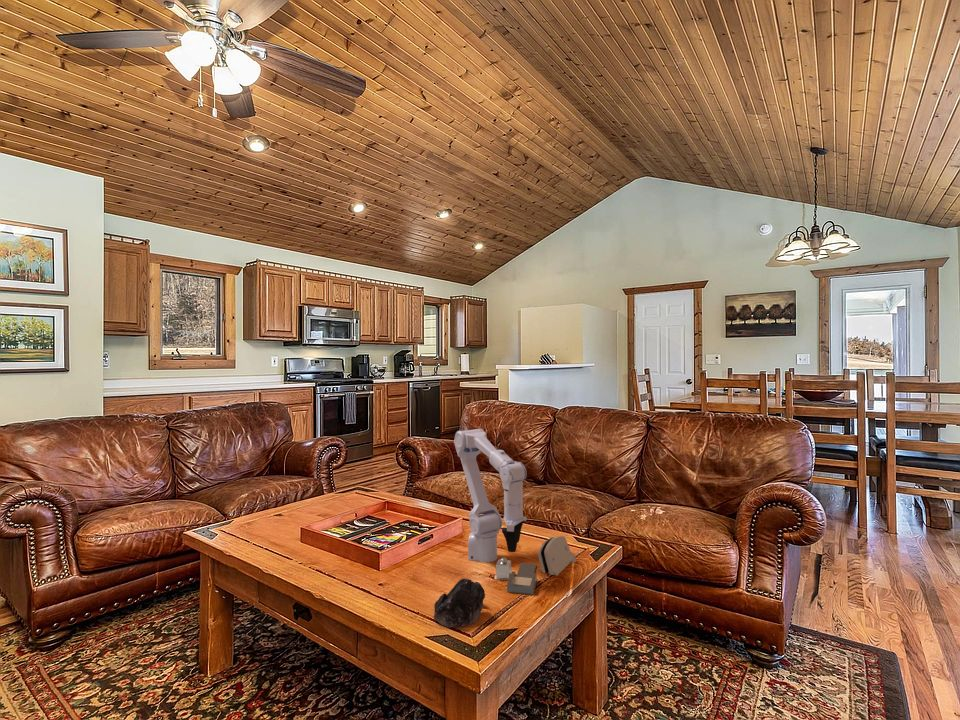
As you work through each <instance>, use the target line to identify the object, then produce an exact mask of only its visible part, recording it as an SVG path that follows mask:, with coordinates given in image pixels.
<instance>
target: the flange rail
mask: <svg viewBox="0 0 960 720" xmlns="http://www.w3.org/2000/svg"><path fill="white" fill-rule="evenodd" d="M536 570H537V564H535V563H525V562H520V565H519V568H518V570H517V573H516V571H512V570H511V576H510V578H509V580H507V581H508V582H507V585H506V593H511V594H519V595H520V594H521V595H532V596H534V594H535V589H536V585H537V581H538V574H537V573H535V572H536Z"/></svg>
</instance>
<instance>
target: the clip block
mask: <svg viewBox="0 0 960 720" xmlns="http://www.w3.org/2000/svg"><path fill="white" fill-rule="evenodd" d="M511 573H512V560H509V559H507V557H501V558H500V559H498V560H497V562H496V564H495V576H496V578H501V579H500V580H502V579H509V578H510V575H511Z"/></svg>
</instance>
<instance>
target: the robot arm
mask: <svg viewBox="0 0 960 720" xmlns="http://www.w3.org/2000/svg"><path fill="white" fill-rule="evenodd" d="M453 444H454V446H455V451H456V453H457V457H458V458H459V459H460V461H461V465H462V469H463V470H462V471H463V472H464V477H465V480H466V483H467V487H468V490H469V495H470V497H471V501H472V504H473V508H472V509H471V510H470V512H469V514H468V518H469V519H468V520H469V528H470V531H471V532H470V533H469V536H468V540H467V541H468V542H467V548H468V550H467V555H468V556H467V560H468V561H474V562H480V563H493V562H495V561H496V560H497V559H498V534H499V532H500V530H501V533H502V534H503V536H504V539H505V541H506V547H507V551H508V553H516V551H517V546H518V543H519V542H520V537H521V532H522V528H523V525H524V522H526V521H527V520H528V519H527V518H528V517H527V516H524V507H523V506H524V504H523V498H524V497H523V495H524V494H523V493H524V492H523V491H524V490H523V486H524V485H523V483H524V482H523V481H525V480H526V479H527V468H526V467H525V464H523V462H521V461H514V460H513V458H511V457H510V456H509V455H508V454H507V453H506V452H505V450H503V449H497V448H496V447H495V446H494V445H493V444H492V443H491V441H490V440H489V439H488V436H487V432H485V431H484V429H482V428H477V429H470V430H469V429H468V430H457V431H456V432H455V434H454V440H453ZM481 452H482V453H483V454H484V455H485V456H486V457H487V458H489V459H488V461H489V464H490V465H491V466H492V467H493V469H495V470H496V471H497V472H498V473H499V476H500V481H501V485H502V489H503V506H504V507H503V511H504V512H503V514H504V515H503V519H502V516H501V515H500V513H499V510H498V509H497V506H496V505H494V504H493V503H490V502H489V499H488V496H487V492H486V488H485V484H484V481H483V479H482V476H481V471H480V468H479V465H478V462H477V456H478V455H480V454H481ZM503 521H504V522H505V524H506V526H503Z"/></svg>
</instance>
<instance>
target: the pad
mask: <svg viewBox="0 0 960 720" xmlns="http://www.w3.org/2000/svg"><path fill="white" fill-rule="evenodd" d="M510 576H511V575H510ZM493 579H494V580H504V581H509V579H501V578H496V575H495V576H494V578H493Z"/></svg>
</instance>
